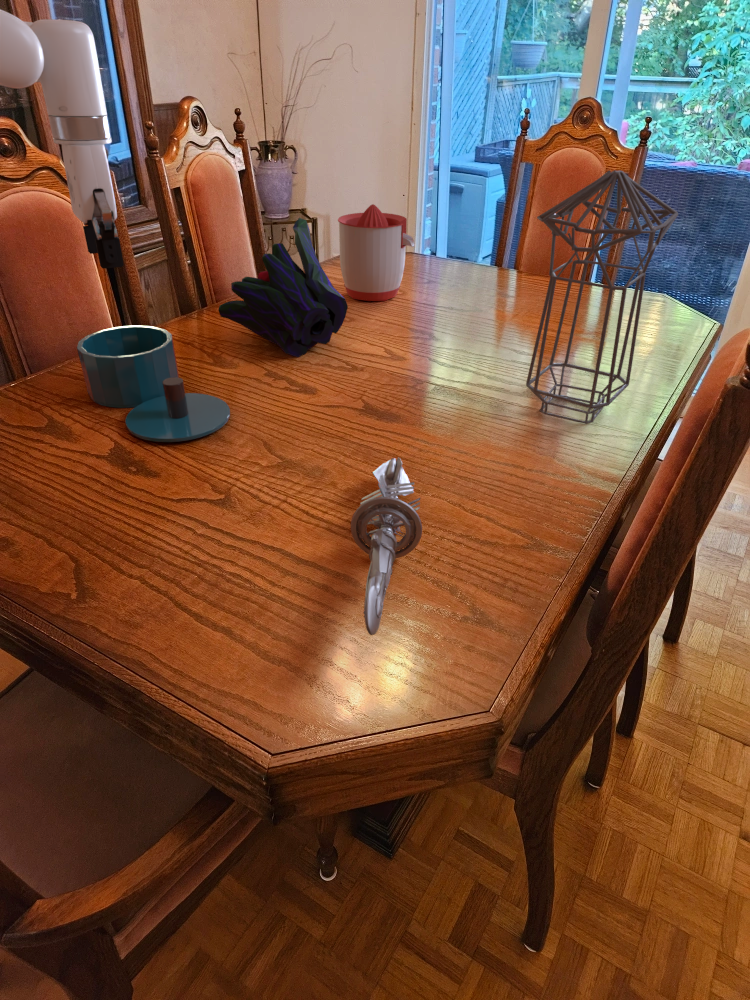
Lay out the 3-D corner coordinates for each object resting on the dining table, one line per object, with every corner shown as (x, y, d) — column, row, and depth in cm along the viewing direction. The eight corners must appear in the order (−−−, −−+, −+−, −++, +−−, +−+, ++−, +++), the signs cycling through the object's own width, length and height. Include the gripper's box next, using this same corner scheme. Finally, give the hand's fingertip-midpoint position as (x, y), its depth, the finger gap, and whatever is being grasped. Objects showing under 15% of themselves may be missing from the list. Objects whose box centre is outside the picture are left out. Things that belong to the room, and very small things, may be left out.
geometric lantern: (634, 406, 109) (693, 169, 89) (602, 444, 98) (661, 184, 78) (543, 383, 116) (579, 159, 96) (504, 416, 105) (536, 172, 86)
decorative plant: (280, 404, 129) (216, 322, 144) (389, 334, 133) (315, 261, 148) (242, 328, 112) (173, 244, 127) (369, 250, 115) (287, 177, 130)
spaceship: (311, 607, 57) (397, 584, 55) (357, 446, 88) (414, 428, 86) (346, 674, 60) (428, 655, 58) (379, 497, 91) (433, 480, 89)
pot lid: (124, 451, 95) (114, 409, 91) (129, 405, 107) (120, 366, 104) (234, 439, 98) (229, 397, 94) (227, 395, 111) (222, 357, 107)
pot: (85, 412, 105) (72, 361, 100) (93, 376, 117) (82, 329, 112) (180, 402, 108) (172, 353, 103) (179, 368, 120) (171, 322, 115)
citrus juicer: (407, 307, 150) (411, 213, 139) (332, 302, 152) (330, 209, 141) (416, 288, 163) (420, 199, 152) (347, 283, 165) (345, 196, 154)
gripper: (43, 126, 96) (70, 249, 105) (61, 137, 83) (90, 276, 93) (97, 125, 99) (119, 245, 108) (122, 135, 86) (144, 270, 96)
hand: (105, 259), depth 100 cm, fingers open, 9 cm apart
